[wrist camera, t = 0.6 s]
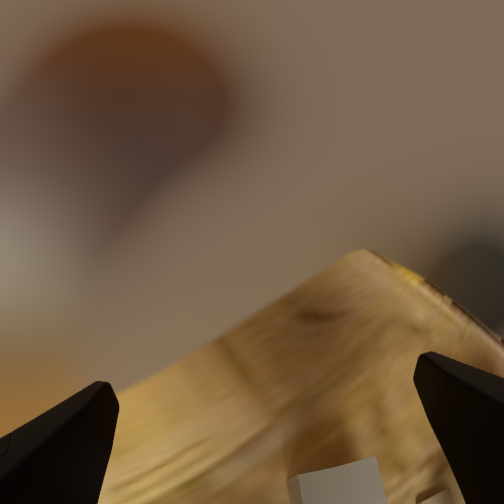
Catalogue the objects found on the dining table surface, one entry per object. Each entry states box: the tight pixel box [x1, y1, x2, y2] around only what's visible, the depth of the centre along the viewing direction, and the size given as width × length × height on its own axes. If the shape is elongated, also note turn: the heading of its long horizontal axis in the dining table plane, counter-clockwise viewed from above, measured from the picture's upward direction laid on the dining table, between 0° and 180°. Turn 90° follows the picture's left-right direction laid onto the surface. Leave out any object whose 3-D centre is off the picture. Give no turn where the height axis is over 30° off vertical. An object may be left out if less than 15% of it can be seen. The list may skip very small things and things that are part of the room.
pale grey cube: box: [287, 455, 387, 504], centre depth 12 cm, size 5×5×5 cm
